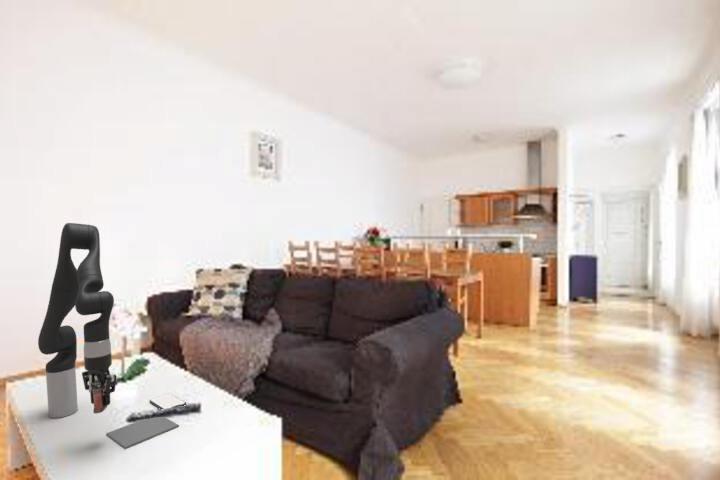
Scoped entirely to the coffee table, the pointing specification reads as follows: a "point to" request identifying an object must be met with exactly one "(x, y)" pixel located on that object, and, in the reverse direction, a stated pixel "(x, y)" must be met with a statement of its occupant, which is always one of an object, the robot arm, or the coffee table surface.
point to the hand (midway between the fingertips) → (100, 403)
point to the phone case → (167, 401)
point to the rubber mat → (141, 431)
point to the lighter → (98, 398)
